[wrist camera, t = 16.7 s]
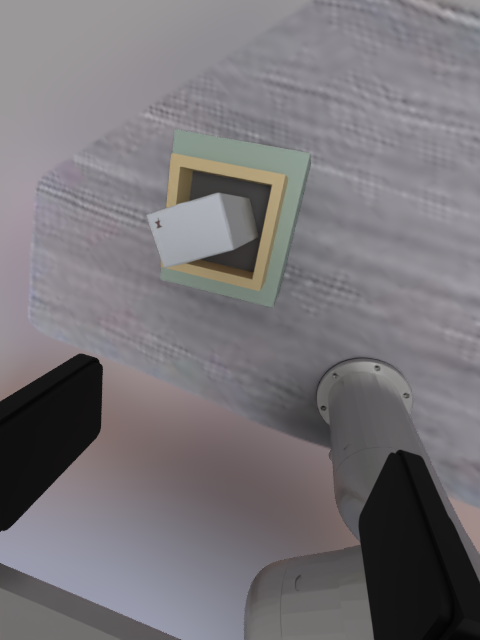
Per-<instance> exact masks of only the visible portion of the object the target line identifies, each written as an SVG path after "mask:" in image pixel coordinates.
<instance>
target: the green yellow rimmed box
mask: <svg viewBox="0 0 480 640" xmlns="http://www.w3.org/2000/svg"><path fill="white" fill-rule="evenodd" d="M310 165H311V156H310V153H306V152H300V151H295V150H289V149H283V148H278V147H272V146H267V145H261V144H255V143H250V142H244V141H239V140H233V139H227V138H222V137H216V136H210V135H205V134H199V133H194V132H188V131H182V130H177V129H175V133H174V143H173V153H171V162H170V173H169V183H168V194H167V204H166V208H168V207H172V206H175V205H177V204H180V203H184V202H188V201H192V200H195V199H198V198H202V197H205V196H208V195H211V194H215V193H223V194H229V195H235V196H240V197H246V198H249V199H250V201H251V206H252V210H253V215H254V219H255V224H256V228H257V232H258V238H256V239H254V240H252V241H250V242H248V243H246V244H244V245H242V246H240V247H238V248H236V249H234V250H232V251H228V252H224V253H221V254H217V255H213V256H209V257H206V258H202V259H199V260H195V261H192V262H188V263H184V264H180V265H176V266H172V267H167V268H164V266H163V263H162V261H161V267H162V268H161V278H160V279H161V280H165V281H169V282H173V283H177V284H181V285H185V286H189V287H193V288H197V289H201V290H205V291H208V292H212V293H216V294H220V295H224V296H228V297H232V298H236V299H240V300H244V301H248V302H252V303H256V304H260V305H264V306H268V307H272V308H273V306H274V304H275V301H276V299H277V297H278V294H279V291H280V287H281V283H282V279H283V275H284V271H285V267H286V263H287V259H288V255H289V251H290V247H291V243H292V239H293V235H294V231H295V226H296V222H297V218H298V214H299V210H300V206H301V202H302V198H303V194H304V190H305V186H306V182H307V178H308V174H309V170H310Z"/></svg>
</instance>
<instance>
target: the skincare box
mask: <svg viewBox="0 0 480 640" xmlns="http://www.w3.org/2000/svg"><path fill="white" fill-rule="evenodd" d="M146 217H147V220H148V223H149V226H150V228H151V231H152V234H153V237H154V240H155V243H156V246H157V249H158V252H159V255H160V258H161V261H162V263H163V266H164V268H167V267H172V266H176V265H180V264H184V263H188V262H192V261H195V260H199V259H202V258H206V257H209V256H213V255H217V254H221V253H224V252H228V251H232V250H234V249H236V248H238V247H240V246H242V245H244V244H246V243H248V242H250V241H252V240H254V239H256V238H258V232H257V228H256V224H255V219H254V215H253V210H252V206H251V201H250V199H249V198H246V197H240V196H235V195H229V194H223V193H215V194H211V195H208V196H205V197H202V198H198V199H195V200H192V201H188V202H184V203H180V204H177V205H175V206H172V207H168V208H165V209H162V210H159V211H156V212H153V213H150V214H147V215H146Z"/></svg>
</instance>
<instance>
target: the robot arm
mask: <svg viewBox="0 0 480 640" xmlns="http://www.w3.org/2000/svg"><path fill="white" fill-rule="evenodd" d="M376 365H378V366H377V367H375V366H376ZM333 373H336V374H333ZM102 375H103V367H102V365H101V364H100V363H99V360H98V359H97V358H95V357H92V356H88V355H85V354H78V355H76V356H74V357H73V358H71V359H69V360H68V361H66V362H64V363H63V364H62V365H60V366H58V367H57V368H55V369H53V370H52V371H50V372H48V373H46V374H45V375H43V376H42V377H40V378H38V379H36V380H35V381H33V382H32V383H30V384H28V385H27V386H25V387H23V388H22V389H20V390H18V391H17V392H15V393H13V394H12V395H10V396H9V397H7V398H5V399H3V400H2V401H0V532H1V531H5V530H7V529H9V528H10V527H11V526H12V525H13V524H14V523H15V522H16V521H17V520H18V519H19V518H20V517H21V516H22V515H23V514H24V513H25V512H26V511H27V510H28V509H29V508H30V506H31V505H32V504H33V503H34V502H35V501H36V500H37V499H38V498H39V497H40V496H41V495H42V494H43V493H44V492H45V491H46V490H47V489H48V488H49V487H50V486H51V485H52V484H53V483H54V482H55V480H56V479H57V478H58V477H59V476H60V475H61V474H62V473H63V472H64V471H65V470H66V469H67V468H68V467H69V466H70V465H71V464H72V463H73V462H74V461H75V460H76V459H77V457H78V456H79V455H80V454H81V453H82V452H83V451H84V450H85V449H86V448H87V447H88V446H89V445H90V444H91V443H92V442H93V441H94V440H95V439H96V438H97V436H98V434H99V432H100V429H101V408H102V407H101V406H102ZM317 406H318V409H319V412H320V414H321V416H322V418H323V419H324V421H325V422H326V423H327V424H328V425H329V426H330V435H331V451H330V453H329V458H330V460H332V462H333V475H334V491H335V499H336V504H337V507H338V510H339V513H340V514H341V517H342V519H343V521H344V522H345V524H346V525H347V527H348V528H349V530H350V531H351V532H352V533H353V535H354V536H355V537H356V538H357V539H358V540H359V541H360V543H361V545H358V546H353V547H348V548H344V549H343V550H337V551H330V552H324V553H318V554H312V555H306V556H299V557H294V558H289V559H284V560H280V561H276V562H274V563H271V564H269V565H267V566H266V567H264V568H263V569H262V570H261V571H260V572H259V573H258V574H257V575H256V577H255V578H254V580H253V581H252V584H251V586H250V589H249V591H248V595H247V599H246V606H245V615H244V640H480V554H479V553H478V551H477V549H476V548H475V546H474V545H473V543H472V541H471V539H470V538H469V536H468V534H467V533H466V531H465V529H464V528H463V526H462V524H461V522H460V520H459V518H458V516H457V514H456V513H455V511H454V508H453V506H452V504H451V503H450V501H449V499H448V497H447V495H446V492H445V490H444V488H443V486H442V484H441V482H440V480H439V478H438V476H437V473H436V471H435V469H434V467H433V465H432V463H431V461H430V458H429V456H428V454H427V452H426V450H425V448H424V446H423V443H422V441H421V439H420V437H419V435H418V433H417V431H416V428H415V426H414V424H413V422H412V420H411V418H410V413H411V410H412V406H413V396H412V391H411V389H410V386H409V384H408V382H407V381H406V379H405V378H404V377H403V375H402V374H401V373H400V372H399V371H398V370H396V369H395V368H394V367H392V366H390V365H389V364H387V363H385V362H382V361H378V360H375V359H367V358H361V359H352V360H347V361H345V362H342V363H339V364H338V365H336V366H334V367H333V368H331V369H330V370H329V371H328V372H327V373H326V374H325V375H324V377H323V378H322V379H321V381H320V383H319V386H318V390H317ZM0 640H181V639H178V638H176V637H174V636H171V635H169V634H167V633H164V632H162V631H160V630H157V629H155V628H152V627H150V626H148V625H146V624H143V623H141V622H138V621H136V620H134V619H132V618H129V617H127V616H124V615H122V614H119V613H117V612H115V611H113V610H110V609H108V608H106V607H103V606H101V605H99V604H96V603H94V602H91V601H89V600H87V599H84V598H82V597H80V596H77V595H75V594H73V593H70V592H68V591H65V590H63V589H61V588H58V587H56V586H54V585H51V584H49V583H46V582H44V581H41V580H39V579H37V578H34V577H32V576H30V575H27V574H25V573H22V572H20V571H18V570H15V569H13V568H10V567H8V566H5V565H3V564H1V563H0Z"/></svg>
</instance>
